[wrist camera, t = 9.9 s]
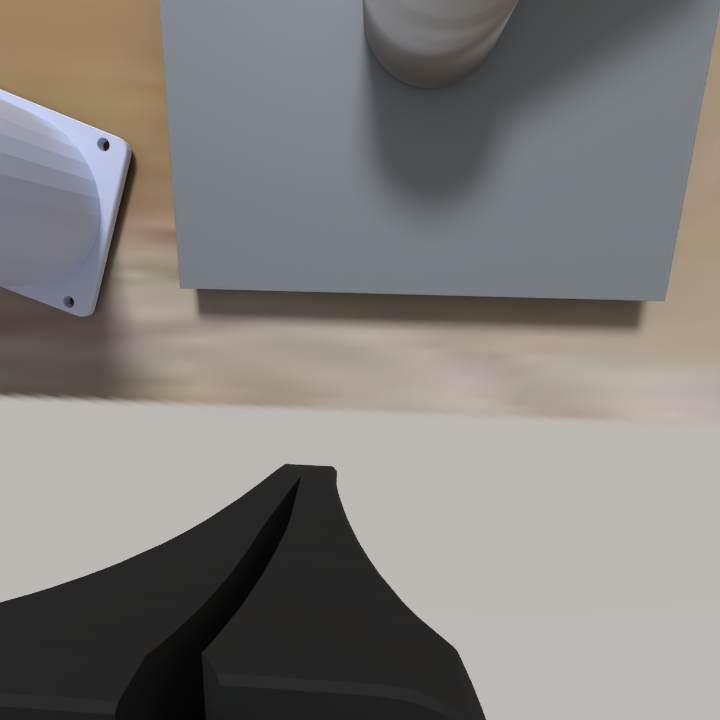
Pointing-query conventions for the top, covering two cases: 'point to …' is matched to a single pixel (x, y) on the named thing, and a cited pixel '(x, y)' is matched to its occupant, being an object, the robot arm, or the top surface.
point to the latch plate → (433, 151)
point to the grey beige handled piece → (434, 37)
